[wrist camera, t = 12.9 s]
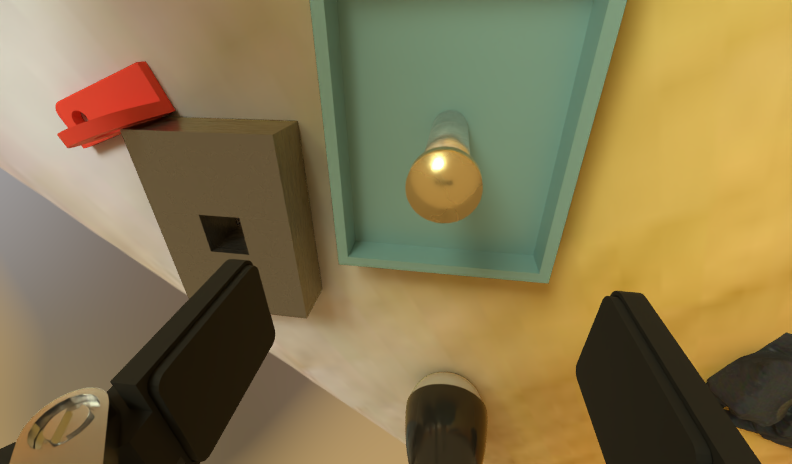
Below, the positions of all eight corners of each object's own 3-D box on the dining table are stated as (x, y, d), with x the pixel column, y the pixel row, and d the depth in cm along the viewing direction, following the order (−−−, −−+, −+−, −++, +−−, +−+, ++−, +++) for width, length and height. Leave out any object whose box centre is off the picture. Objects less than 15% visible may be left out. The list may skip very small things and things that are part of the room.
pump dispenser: (397, 365, 47) (373, 493, 34) (472, 354, 43) (477, 491, 31) (424, 411, 51) (411, 540, 38) (494, 404, 48) (506, 543, 35)
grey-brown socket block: (162, 116, 34) (119, 129, 30) (297, 120, 32) (272, 134, 28) (217, 278, 44) (191, 305, 40) (322, 289, 42) (306, 318, 38)
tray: (322, -64, 25) (300, -79, 21) (624, -78, 22) (654, -98, 18) (349, 243, 38) (338, 264, 34) (539, 258, 35) (548, 283, 32)
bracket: (146, 61, 31) (60, 69, 25) (176, 110, 33) (104, 130, 27) (62, 103, 35) (-33, 120, 28) (93, 145, 37) (11, 171, 30)
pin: (427, 103, 28) (405, 150, 17) (476, 104, 28) (487, 153, 17) (425, 150, 30) (405, 220, 19) (471, 152, 30) (477, 225, 19)
